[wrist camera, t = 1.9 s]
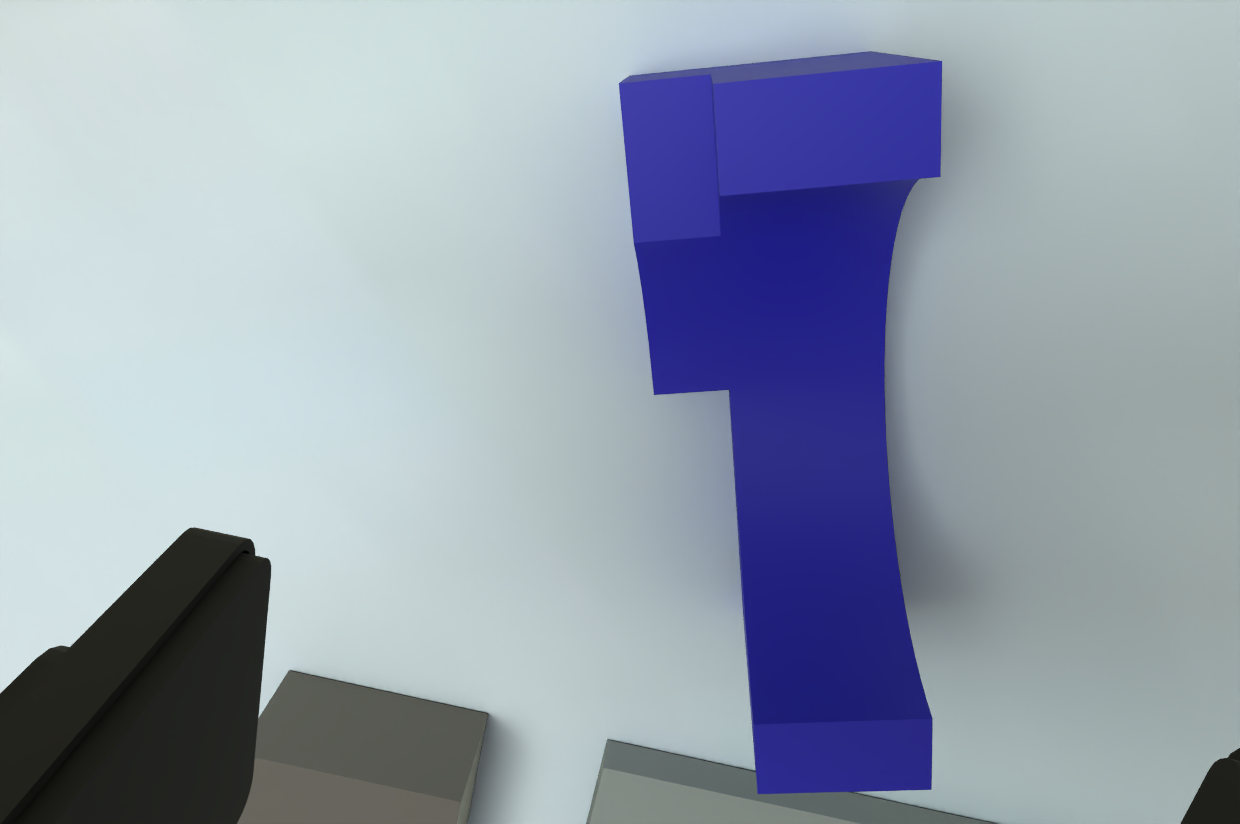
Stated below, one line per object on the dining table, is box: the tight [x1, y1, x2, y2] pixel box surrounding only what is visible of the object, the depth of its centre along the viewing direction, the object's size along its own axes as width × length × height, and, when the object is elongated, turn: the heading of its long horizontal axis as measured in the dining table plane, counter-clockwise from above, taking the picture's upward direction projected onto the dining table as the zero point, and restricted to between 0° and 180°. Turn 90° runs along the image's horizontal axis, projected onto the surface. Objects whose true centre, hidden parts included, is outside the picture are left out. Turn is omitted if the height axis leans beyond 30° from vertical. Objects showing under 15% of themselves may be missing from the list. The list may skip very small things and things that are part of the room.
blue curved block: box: [619, 51, 942, 794], centre depth 18 cm, size 12×4×6 cm, turn 6°
